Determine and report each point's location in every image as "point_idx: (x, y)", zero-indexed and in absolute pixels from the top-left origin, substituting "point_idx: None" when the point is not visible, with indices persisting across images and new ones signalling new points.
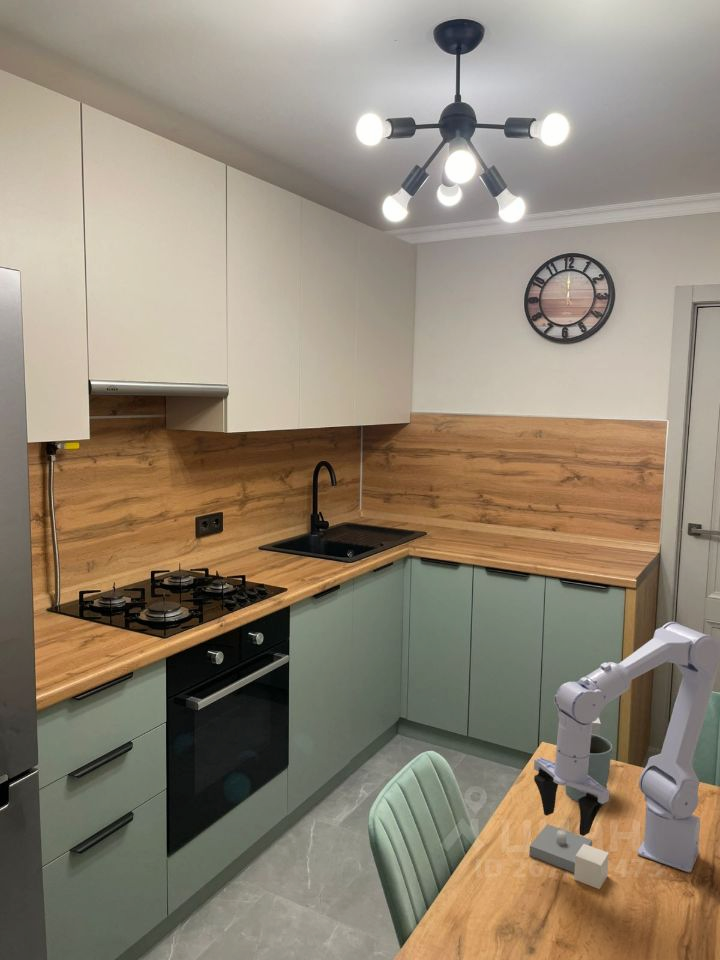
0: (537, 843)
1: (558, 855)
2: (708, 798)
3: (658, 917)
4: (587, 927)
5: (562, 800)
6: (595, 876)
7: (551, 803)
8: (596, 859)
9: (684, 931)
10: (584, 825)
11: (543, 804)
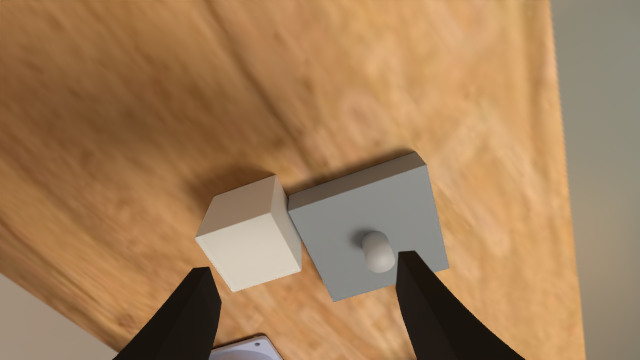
0: (416, 190)
1: (342, 197)
2: None
3: (76, 228)
4: (93, 43)
5: None
6: (218, 209)
7: (413, 320)
8: (224, 247)
9: (16, 236)
10: (155, 315)
11: (436, 286)
